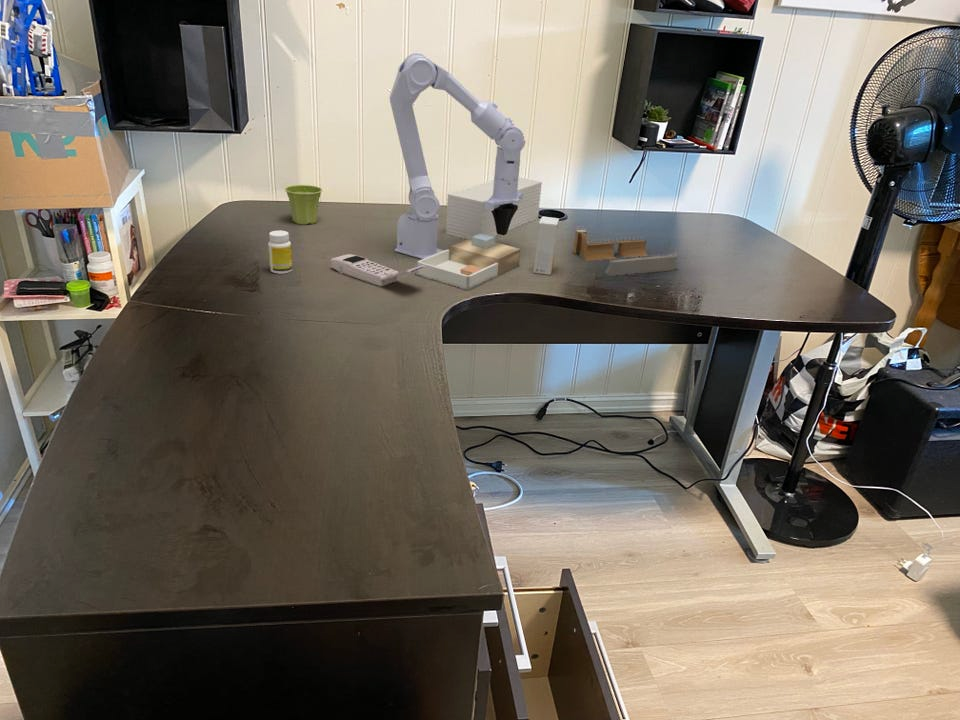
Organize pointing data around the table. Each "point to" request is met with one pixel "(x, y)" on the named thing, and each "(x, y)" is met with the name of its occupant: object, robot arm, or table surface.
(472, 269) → the terracotta tile
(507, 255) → the oak block
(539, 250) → the skincare box
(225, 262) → the table surface
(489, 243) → the blue tile
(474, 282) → the white tray
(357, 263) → the mobile phone
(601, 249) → the skate ramp
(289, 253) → the supplement bottle
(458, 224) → the stack of papers
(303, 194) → the plant pot
